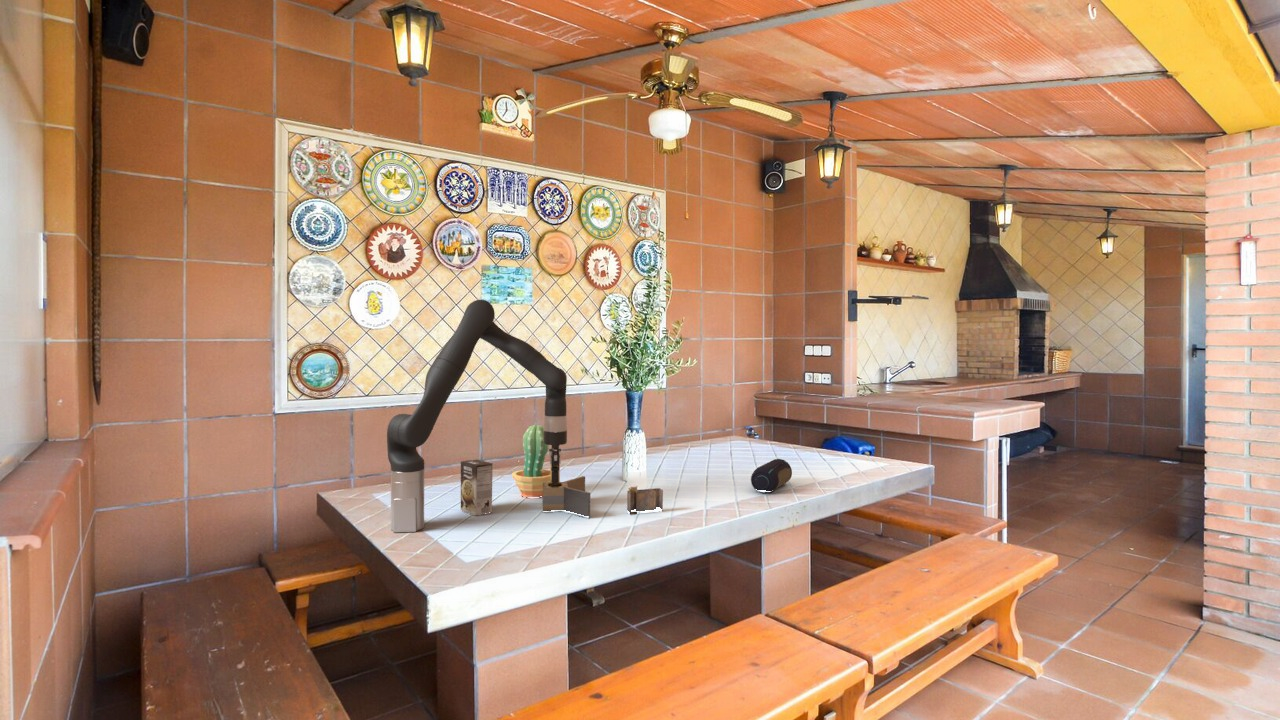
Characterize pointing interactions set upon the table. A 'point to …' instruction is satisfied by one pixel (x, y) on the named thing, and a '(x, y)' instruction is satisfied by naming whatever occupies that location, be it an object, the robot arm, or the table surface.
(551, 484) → the hinge pin
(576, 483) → the hinge
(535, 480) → the potted cactus
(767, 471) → the portable speaker
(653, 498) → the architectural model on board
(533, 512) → the table surface
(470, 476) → the coffee box
